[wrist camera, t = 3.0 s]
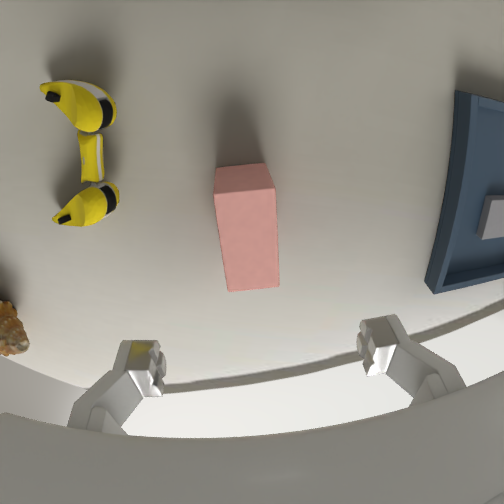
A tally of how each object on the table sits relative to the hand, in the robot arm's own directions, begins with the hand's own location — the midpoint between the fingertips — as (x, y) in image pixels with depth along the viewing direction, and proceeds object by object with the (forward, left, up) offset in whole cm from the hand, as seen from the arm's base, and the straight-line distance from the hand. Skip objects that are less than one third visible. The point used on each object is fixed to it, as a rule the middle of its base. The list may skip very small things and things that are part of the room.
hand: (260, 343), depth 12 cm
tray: (+23, 0, -11) cm, 26 cm away
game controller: (-10, +6, -12) cm, 17 cm away
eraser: (0, 0, -11) cm, 11 cm away
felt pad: (+23, -1, -11) cm, 26 cm away
